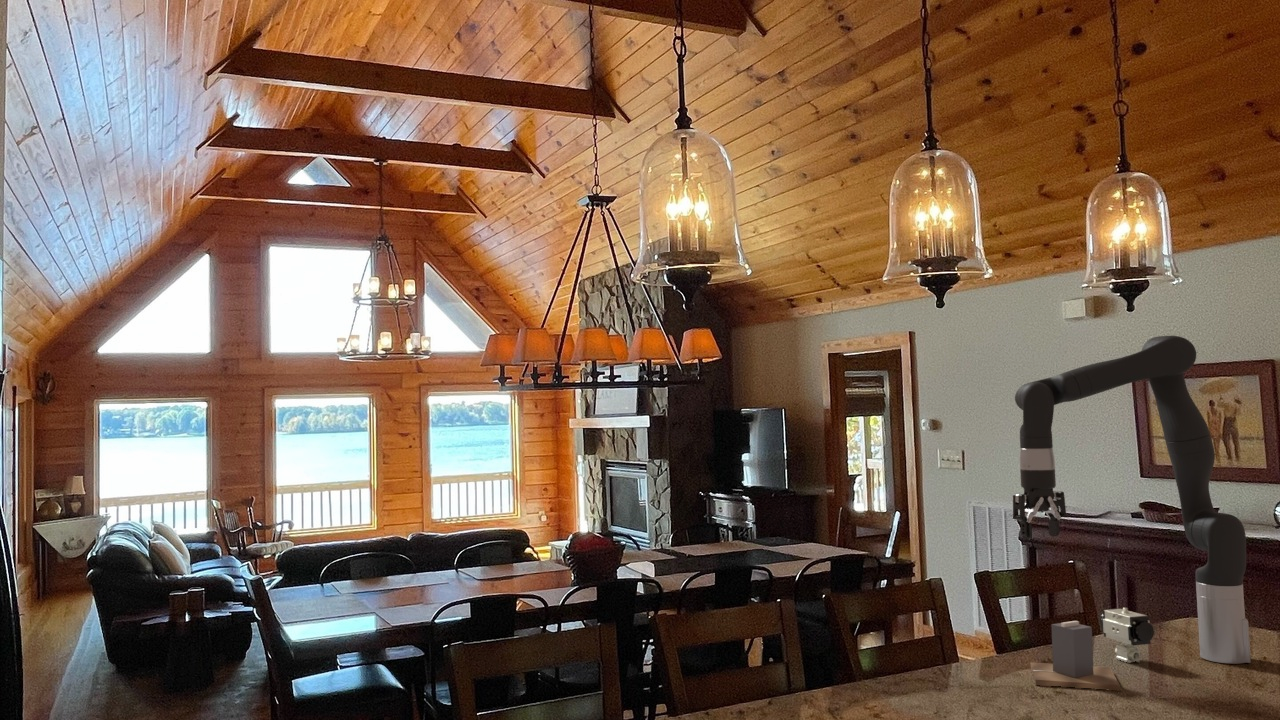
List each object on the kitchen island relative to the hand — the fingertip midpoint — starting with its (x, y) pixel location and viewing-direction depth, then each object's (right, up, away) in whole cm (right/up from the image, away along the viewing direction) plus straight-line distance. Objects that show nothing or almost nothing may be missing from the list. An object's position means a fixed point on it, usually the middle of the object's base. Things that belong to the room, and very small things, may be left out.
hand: (1040, 537), depth 215 cm
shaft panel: (0, -27, -17) cm, 32 cm away
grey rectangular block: (0, -26, -17) cm, 31 cm away
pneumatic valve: (+18, -28, -4) cm, 33 cm away
